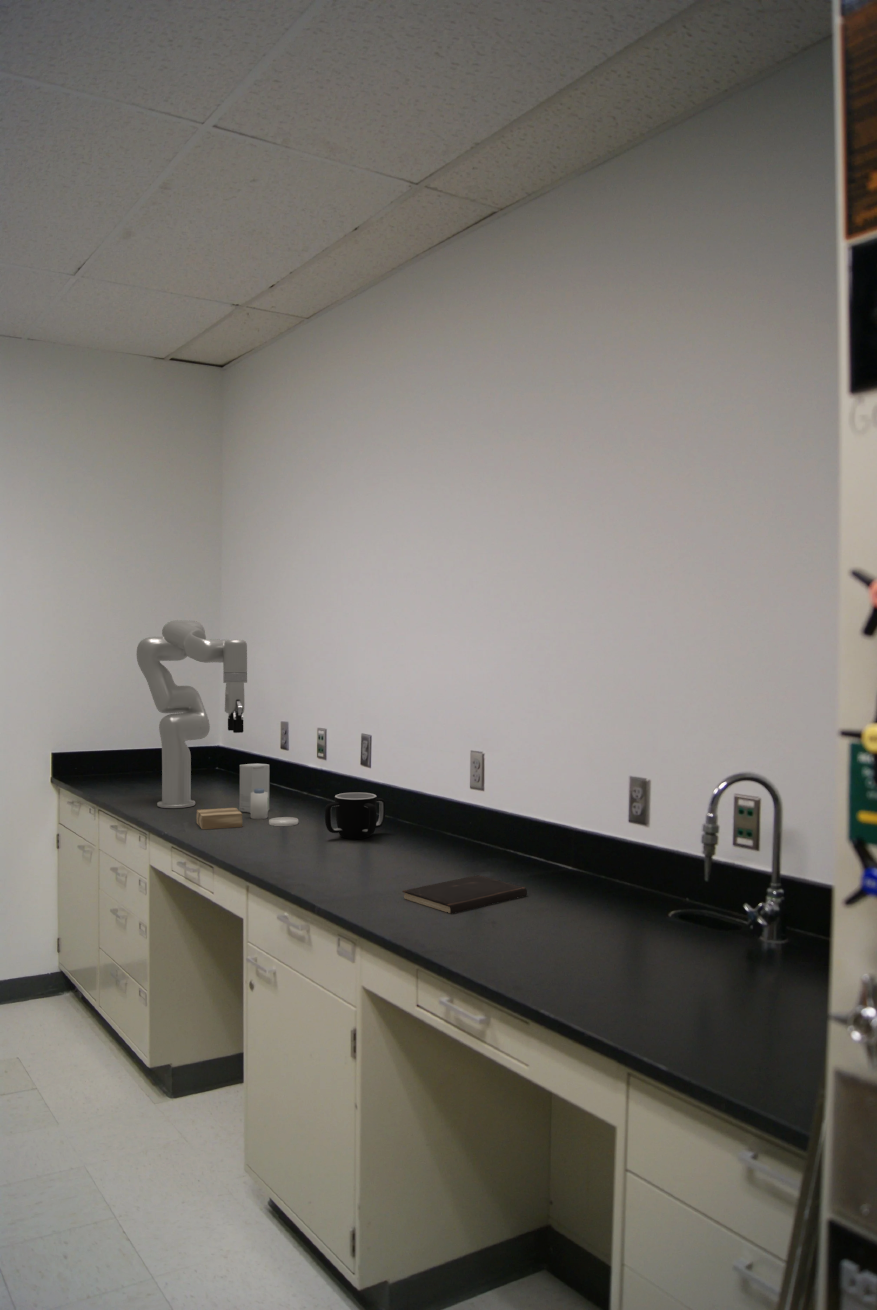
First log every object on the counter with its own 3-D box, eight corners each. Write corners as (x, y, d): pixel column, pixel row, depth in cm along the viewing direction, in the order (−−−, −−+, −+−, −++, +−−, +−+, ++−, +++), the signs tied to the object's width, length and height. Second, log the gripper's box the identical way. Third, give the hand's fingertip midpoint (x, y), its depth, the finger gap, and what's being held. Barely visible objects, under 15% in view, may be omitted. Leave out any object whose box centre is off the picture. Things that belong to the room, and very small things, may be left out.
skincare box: (251, 813, 319) (251, 766, 319) (237, 811, 323) (238, 764, 323) (270, 810, 326) (270, 763, 326) (256, 808, 330) (257, 762, 330)
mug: (390, 833, 288) (391, 792, 288) (372, 843, 273) (373, 801, 272) (339, 829, 292) (339, 790, 292) (318, 840, 277) (319, 798, 277)
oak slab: (196, 822, 303) (196, 809, 303) (235, 820, 307) (235, 807, 307) (202, 829, 292) (202, 816, 292) (242, 826, 296) (242, 813, 296)
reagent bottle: (249, 816, 314) (249, 788, 314) (265, 815, 316) (265, 787, 316) (252, 819, 309) (252, 790, 309) (269, 818, 311) (269, 789, 311)
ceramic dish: (266, 822, 304) (266, 818, 304) (294, 820, 308) (294, 816, 308) (272, 827, 296) (272, 823, 296) (301, 825, 299) (301, 821, 299)
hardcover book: (402, 900, 214) (402, 890, 214) (478, 884, 230) (478, 874, 230) (450, 916, 202) (450, 905, 202) (527, 898, 218) (527, 888, 218)
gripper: (219, 677, 319) (219, 729, 319) (228, 679, 303) (228, 734, 303) (242, 677, 322) (242, 729, 322) (252, 678, 306) (252, 733, 306)
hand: (235, 731), depth 312 cm, fingers open, 9 cm apart
